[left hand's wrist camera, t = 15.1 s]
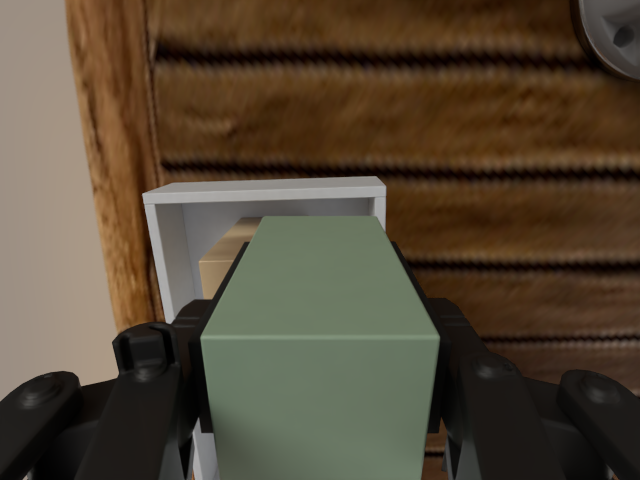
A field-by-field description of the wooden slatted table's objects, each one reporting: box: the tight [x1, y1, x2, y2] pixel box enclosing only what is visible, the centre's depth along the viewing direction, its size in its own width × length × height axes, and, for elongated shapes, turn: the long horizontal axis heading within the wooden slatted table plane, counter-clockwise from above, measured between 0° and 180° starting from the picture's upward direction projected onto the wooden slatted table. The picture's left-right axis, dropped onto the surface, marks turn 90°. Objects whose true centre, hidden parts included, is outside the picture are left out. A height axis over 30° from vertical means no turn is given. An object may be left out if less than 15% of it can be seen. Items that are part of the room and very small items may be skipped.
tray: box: [142, 176, 386, 480], centre depth 23 cm, size 32×13×10 cm, turn 2°
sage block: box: [200, 216, 440, 480], centre depth 11 cm, size 4×4×8 cm
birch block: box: [199, 217, 263, 299], centre depth 20 cm, size 4×4×8 cm
